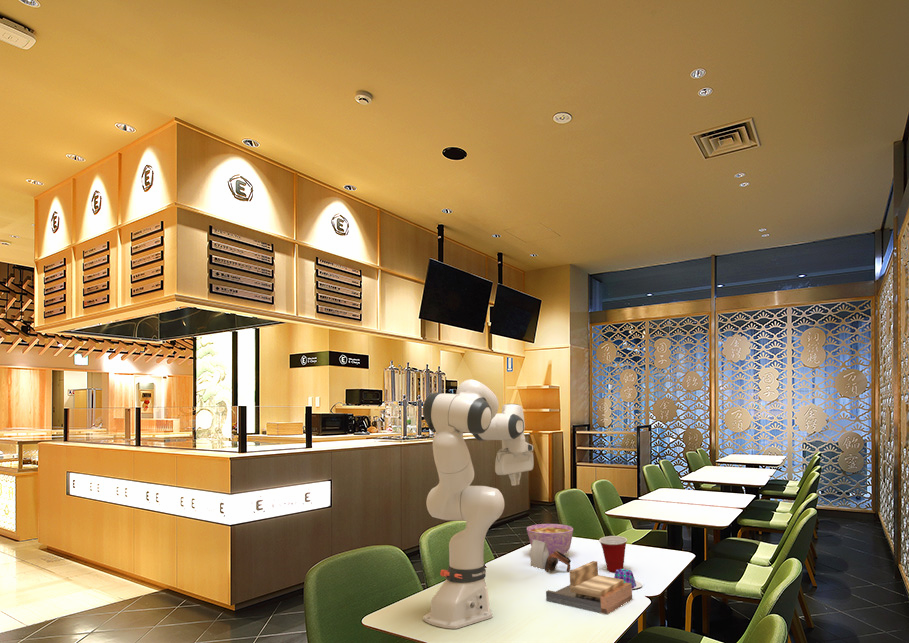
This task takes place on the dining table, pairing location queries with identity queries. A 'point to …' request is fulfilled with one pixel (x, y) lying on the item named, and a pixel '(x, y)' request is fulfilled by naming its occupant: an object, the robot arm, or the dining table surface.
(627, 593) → the track
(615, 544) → the plastic cup
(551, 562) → the brown bent arch
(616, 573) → the pudding
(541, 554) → the tea bag
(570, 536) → the bowl of food
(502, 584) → the dining table surface
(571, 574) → the tan slatted block
